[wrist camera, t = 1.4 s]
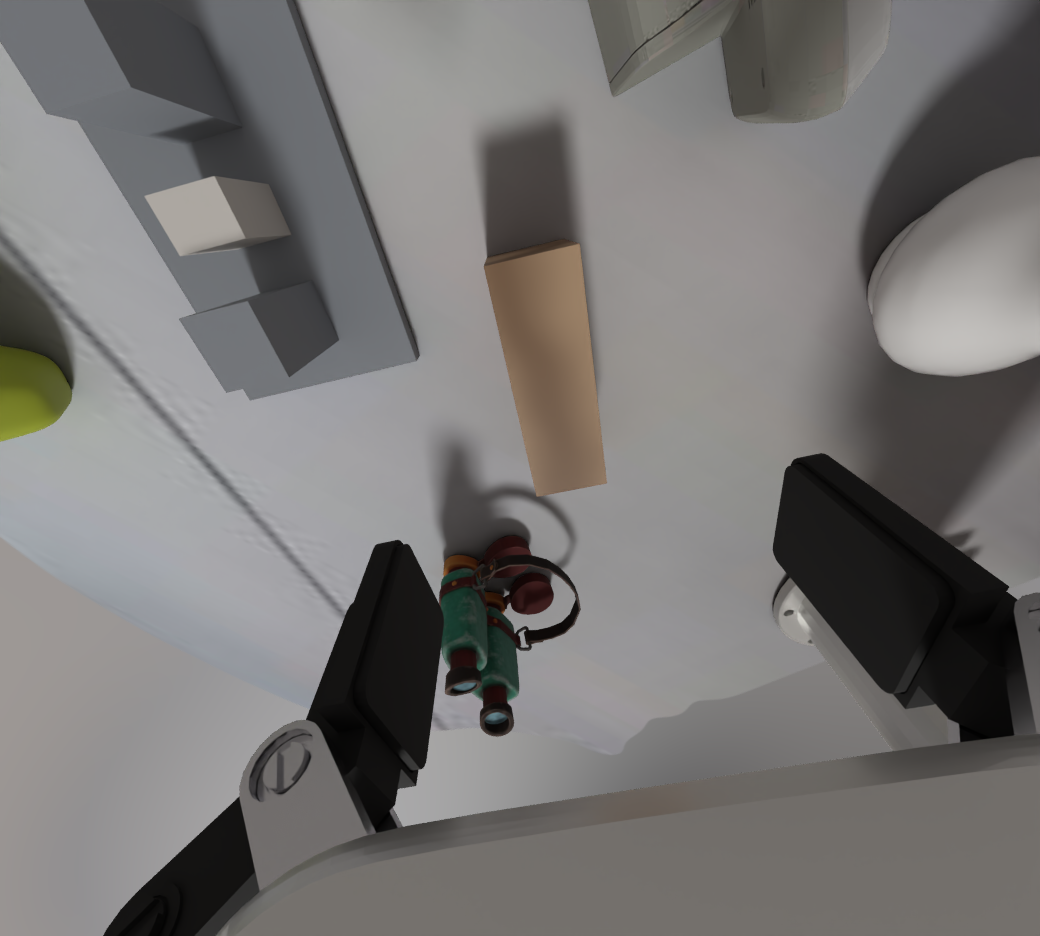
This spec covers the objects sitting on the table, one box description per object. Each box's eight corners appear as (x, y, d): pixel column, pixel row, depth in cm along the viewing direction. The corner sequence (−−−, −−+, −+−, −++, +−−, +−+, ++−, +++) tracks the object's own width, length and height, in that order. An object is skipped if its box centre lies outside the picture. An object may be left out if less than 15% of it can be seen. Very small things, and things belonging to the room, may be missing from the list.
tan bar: (563, 238, 21) (579, 243, 16) (589, 441, 27) (606, 483, 23) (487, 257, 21) (483, 266, 17) (531, 453, 27) (536, 496, 23)
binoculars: (620, 701, 25) (478, 756, 26) (577, 579, 35) (473, 623, 36) (571, 618, 21) (404, 688, 22) (537, 504, 30) (419, 557, 31)
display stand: (269, -67, 15) (114, -257, 9) (419, 355, 23) (391, 402, 17) (31, 13, 16) (-258, -113, 10) (258, 394, 24) (179, 451, 18)
